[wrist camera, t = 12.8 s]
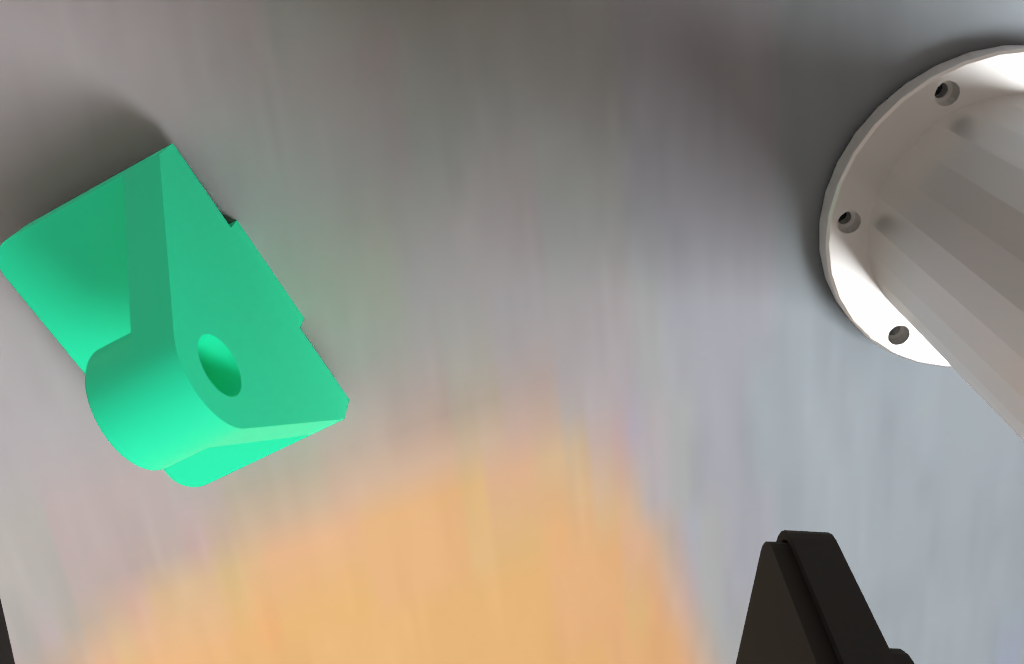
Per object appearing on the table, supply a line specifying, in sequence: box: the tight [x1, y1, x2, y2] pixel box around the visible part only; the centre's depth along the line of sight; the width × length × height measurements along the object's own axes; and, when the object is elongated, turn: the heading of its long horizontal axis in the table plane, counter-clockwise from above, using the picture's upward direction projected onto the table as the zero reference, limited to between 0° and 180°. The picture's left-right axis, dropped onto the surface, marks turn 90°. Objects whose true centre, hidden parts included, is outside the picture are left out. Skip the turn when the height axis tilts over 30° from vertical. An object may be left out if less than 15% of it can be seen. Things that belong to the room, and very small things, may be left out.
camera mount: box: [0, 143, 349, 487], centre depth 33 cm, size 12×8×10 cm, turn 27°
